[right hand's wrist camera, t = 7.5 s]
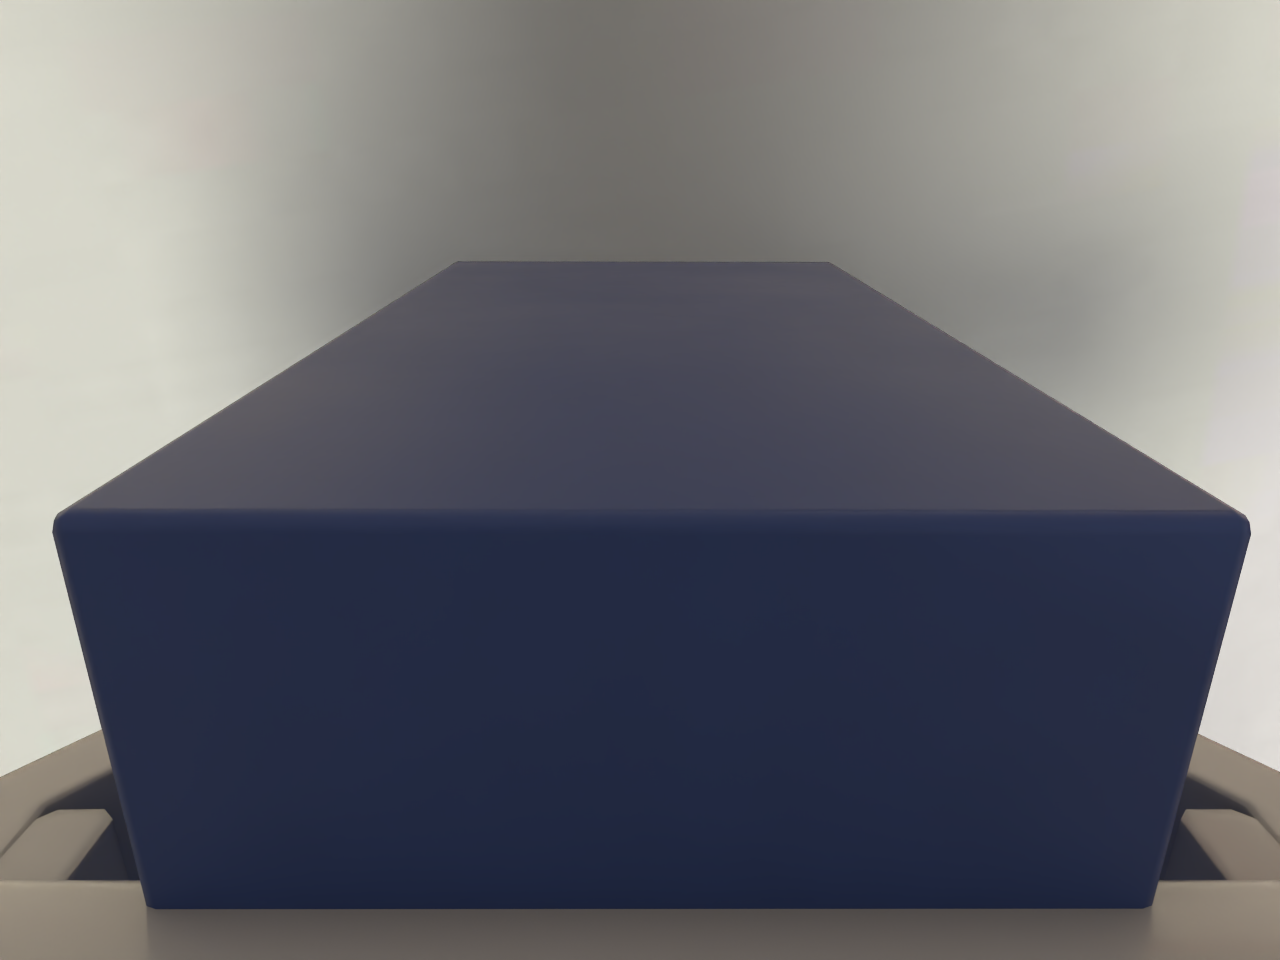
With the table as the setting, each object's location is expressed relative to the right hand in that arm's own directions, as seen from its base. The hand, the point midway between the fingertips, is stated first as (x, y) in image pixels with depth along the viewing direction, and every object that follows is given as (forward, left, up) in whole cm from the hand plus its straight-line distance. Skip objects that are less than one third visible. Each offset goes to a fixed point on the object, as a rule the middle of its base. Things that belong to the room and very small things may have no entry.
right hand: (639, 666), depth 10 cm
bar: (+7, 0, -4) cm, 9 cm away
